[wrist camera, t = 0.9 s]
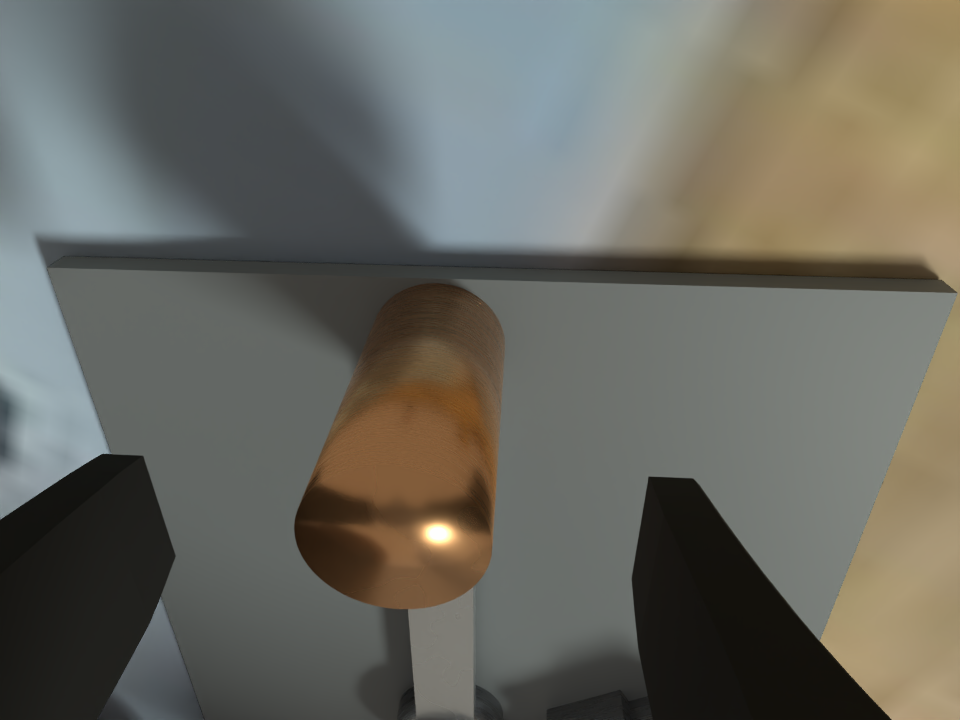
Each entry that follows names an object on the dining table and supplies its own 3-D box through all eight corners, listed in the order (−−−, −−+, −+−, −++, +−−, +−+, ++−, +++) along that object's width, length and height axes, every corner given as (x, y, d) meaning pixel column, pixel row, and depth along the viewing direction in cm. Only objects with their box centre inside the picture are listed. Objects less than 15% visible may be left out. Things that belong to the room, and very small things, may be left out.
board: (747, 790, 24) (752, 809, 23) (230, 756, 25) (223, 774, 24) (941, 280, 14) (957, 292, 13) (63, 256, 15) (46, 268, 14)
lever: (500, 803, 24) (492, 1019, 19) (407, 797, 24) (377, 1010, 19) (516, 285, 14) (508, 470, 9) (357, 281, 14) (265, 460, 9)
